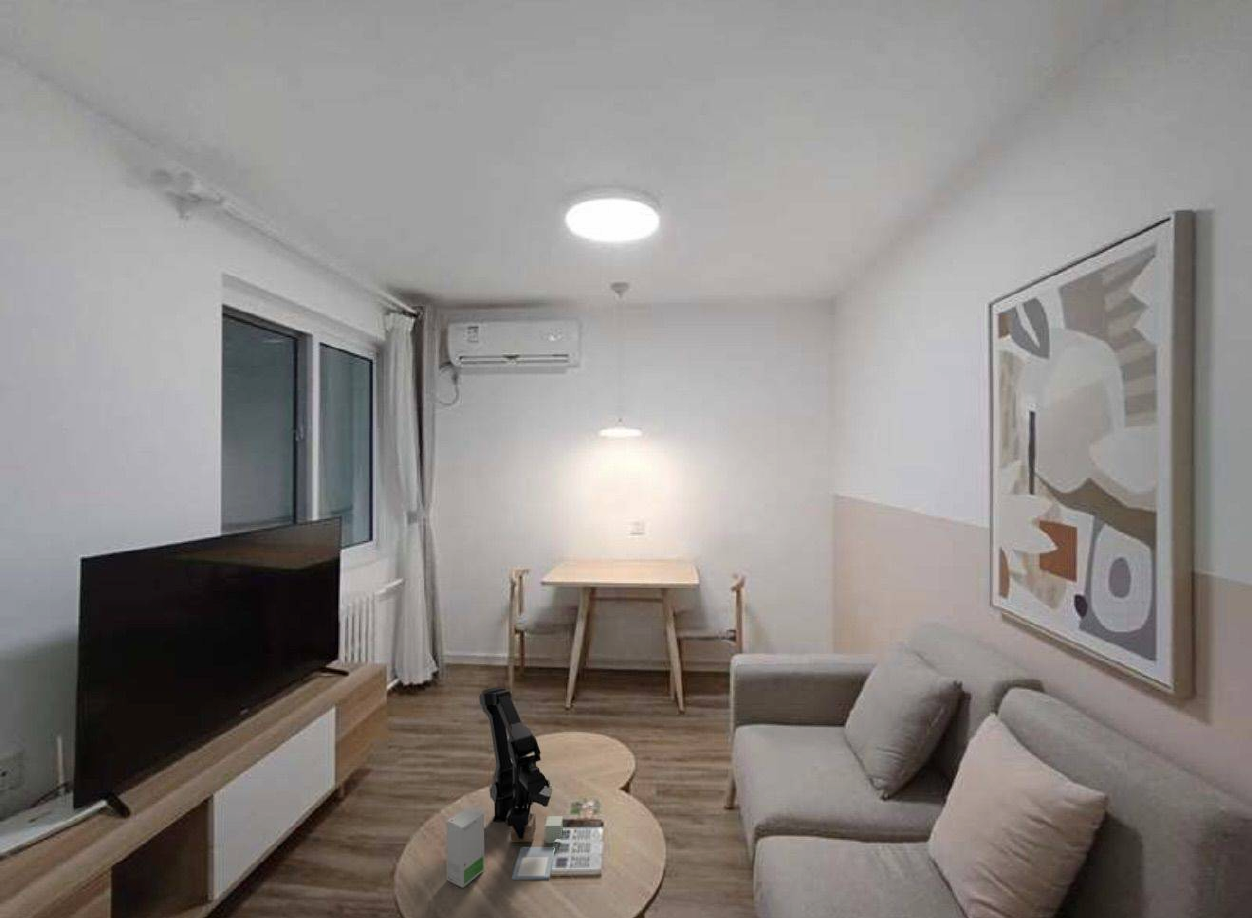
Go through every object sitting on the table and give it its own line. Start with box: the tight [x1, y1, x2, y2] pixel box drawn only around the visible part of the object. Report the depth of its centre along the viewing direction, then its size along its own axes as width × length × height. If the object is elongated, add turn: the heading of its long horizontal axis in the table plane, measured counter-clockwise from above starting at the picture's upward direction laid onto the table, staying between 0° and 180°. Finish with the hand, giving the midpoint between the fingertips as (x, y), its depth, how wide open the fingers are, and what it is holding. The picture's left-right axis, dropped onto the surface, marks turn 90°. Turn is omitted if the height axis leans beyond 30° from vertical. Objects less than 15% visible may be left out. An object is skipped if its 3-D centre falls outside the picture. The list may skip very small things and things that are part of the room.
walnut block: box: [510, 813, 537, 843], centre depth 167 cm, size 6×6×4 cm
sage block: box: [544, 815, 564, 844], centre depth 168 cm, size 5×5×5 cm
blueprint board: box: [511, 846, 554, 881], centre depth 157 cm, size 10×12×1 cm
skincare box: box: [445, 806, 485, 888], centre depth 153 cm, size 8×7×16 cm
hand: (523, 831), depth 167 cm, fingers closed on walnut block, 6 cm apart
